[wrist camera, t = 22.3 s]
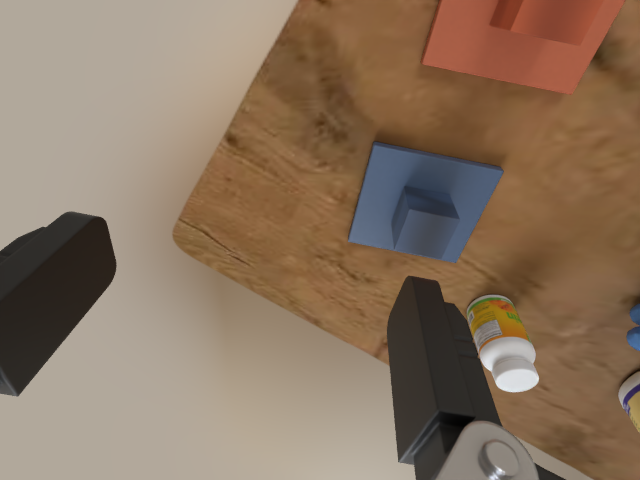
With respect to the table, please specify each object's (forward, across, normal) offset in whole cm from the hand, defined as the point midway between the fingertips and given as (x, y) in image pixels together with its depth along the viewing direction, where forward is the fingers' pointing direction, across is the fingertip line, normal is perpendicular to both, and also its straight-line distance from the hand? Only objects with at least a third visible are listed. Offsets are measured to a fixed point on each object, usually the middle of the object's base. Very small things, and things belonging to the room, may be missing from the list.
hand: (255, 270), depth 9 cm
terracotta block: (+23, -14, -8) cm, 28 cm away
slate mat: (+24, -12, +10) cm, 29 cm away
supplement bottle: (+24, -25, +22) cm, 41 cm away
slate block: (+23, -12, +10) cm, 28 cm away
